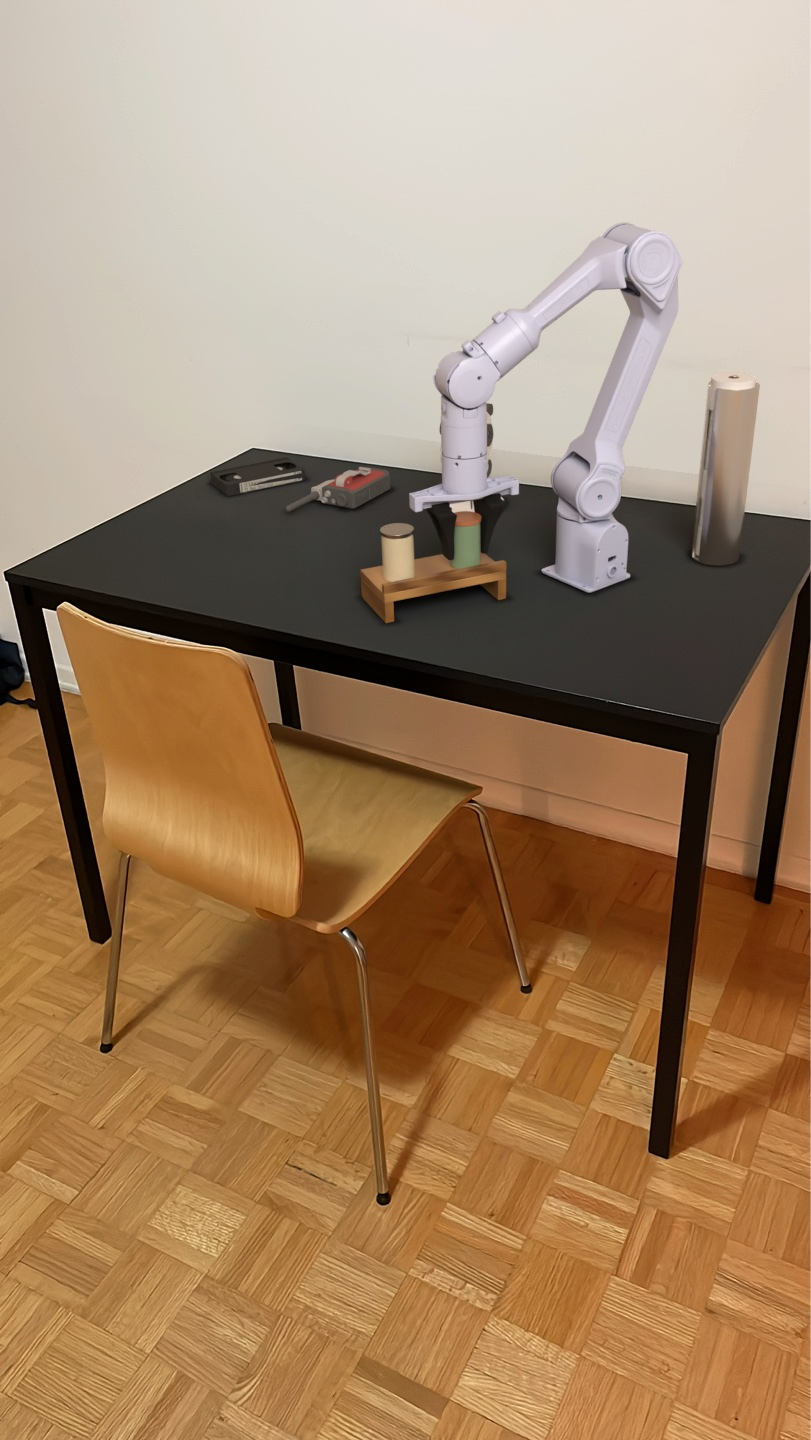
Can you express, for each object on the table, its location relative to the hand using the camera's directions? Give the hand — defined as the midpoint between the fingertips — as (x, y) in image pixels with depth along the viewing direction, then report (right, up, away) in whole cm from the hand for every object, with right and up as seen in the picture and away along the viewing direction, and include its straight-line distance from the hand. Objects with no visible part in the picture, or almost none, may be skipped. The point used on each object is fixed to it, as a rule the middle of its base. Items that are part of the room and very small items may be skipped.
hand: (465, 554), depth 149 cm
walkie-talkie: (-18, +14, +35) cm, 42 cm away
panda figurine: (+2, +12, +32) cm, 34 cm away
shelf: (-4, -6, +1) cm, 7 cm away
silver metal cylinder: (+35, +1, +10) cm, 37 cm away
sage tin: (0, -1, +1) cm, 1 cm away
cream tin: (-9, -3, -2) cm, 10 cm away
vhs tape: (-33, +19, +45) cm, 59 cm away
